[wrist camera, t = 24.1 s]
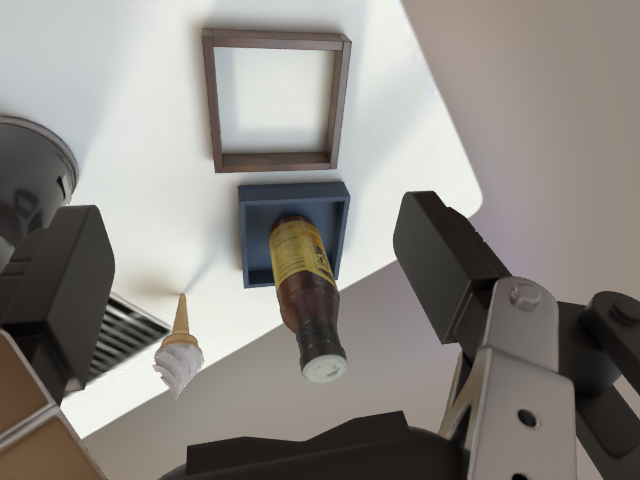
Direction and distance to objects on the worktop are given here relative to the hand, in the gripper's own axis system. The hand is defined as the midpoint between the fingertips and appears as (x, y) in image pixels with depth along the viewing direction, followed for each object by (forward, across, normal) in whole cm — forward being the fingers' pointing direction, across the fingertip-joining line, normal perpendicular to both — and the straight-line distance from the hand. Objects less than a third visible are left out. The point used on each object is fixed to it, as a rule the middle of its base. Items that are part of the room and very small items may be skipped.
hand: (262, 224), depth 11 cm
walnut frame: (+30, -4, +8) cm, 31 cm away
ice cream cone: (+30, +8, +34) cm, 46 cm away
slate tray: (+30, -6, +24) cm, 39 cm away
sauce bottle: (+30, -6, +24) cm, 39 cm away
